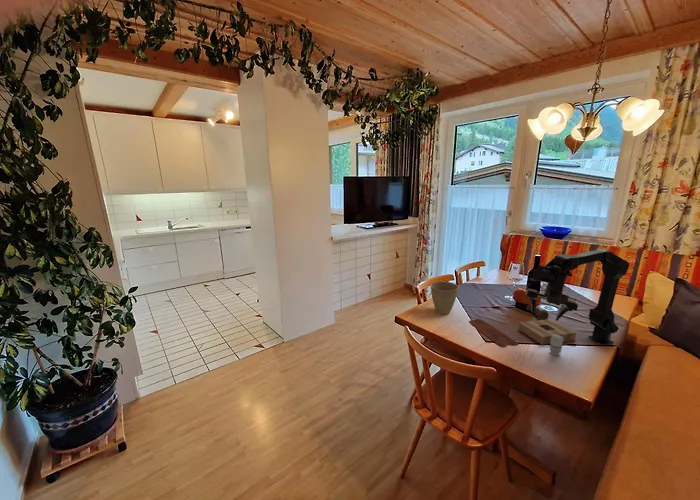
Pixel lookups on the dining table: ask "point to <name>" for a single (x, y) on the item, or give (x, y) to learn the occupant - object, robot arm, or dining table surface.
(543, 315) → the bolt
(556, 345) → the peg
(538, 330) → the board
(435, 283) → the plant pot
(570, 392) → the dining table surface
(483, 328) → the wooden tablet
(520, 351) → the dining table surface
